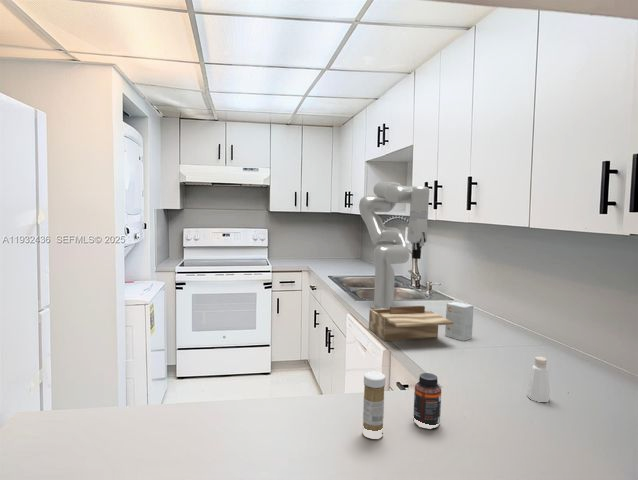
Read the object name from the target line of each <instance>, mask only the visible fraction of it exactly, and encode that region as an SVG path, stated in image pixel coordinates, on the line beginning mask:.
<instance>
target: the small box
mask: <svg viewBox="0 0 638 480" xmlns="http://www.w3.org/2000/svg"><path fill="white" fill-rule="evenodd" d="M445 311H446V312H445V313H446V314H445V318H446V319H448V320H450V321H452V322H453V324H451V325H445V332H444V335H445V337H448V338H452V339H455V340H459V341H461V342H462V341H463V342H465V341H467V340H470V339H472V338H473V326H474V323H473V321H474V320H473V319H474V305H473V304H467V303H465V302H458V301H453V302H447V303H446V310H445Z"/></svg>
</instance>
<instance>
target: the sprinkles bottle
mask: <svg viewBox="0 0 638 480" xmlns="http://www.w3.org/2000/svg"><path fill="white" fill-rule="evenodd" d="M363 385H364V386H363V387H364V391H363V407H362V408H363V412H362V420H363V421H362V427H363V426H364V428H365V429H367V430H372V431H378V430H381V429H382V428H383V429H384V413H385V411H384V410H385V406H384V405H385V385H386V375H385V374H384V373H382V372H379V371H368V372H366V373H364V375H363Z"/></svg>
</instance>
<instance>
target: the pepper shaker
mask: <svg viewBox="0 0 638 480" xmlns="http://www.w3.org/2000/svg"><path fill="white" fill-rule="evenodd" d="M547 361H548V360H547V358H546V357H544V356H535V357H534V364H533V365H532V367H531V372H530V377H529V382H528V387H527V393H526V397H527V396H528V397H529V398H530V399H531V400H530V399H529V398H528V397H527V398H528V399H529V400H530V401H533V400H534V401H533V402H536V401H537V402H536V403H539V402H547V403H548V402H550V398H551V397H550V375H549V374H550V373H549V368H548V367H547Z"/></svg>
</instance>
